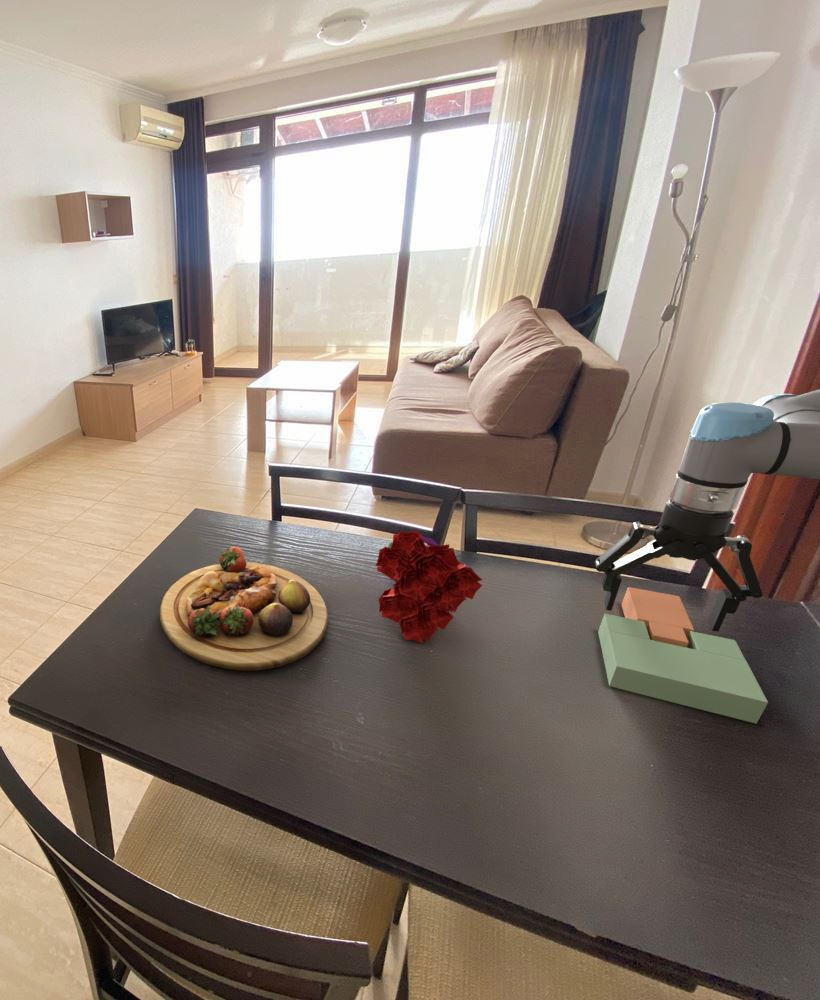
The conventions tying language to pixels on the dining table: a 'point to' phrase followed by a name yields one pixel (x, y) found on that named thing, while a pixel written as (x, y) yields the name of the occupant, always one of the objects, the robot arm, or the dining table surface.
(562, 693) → the dining table surface
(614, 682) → the green pad
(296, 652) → the wooden plate
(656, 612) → the peach pad
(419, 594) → the bouquet
